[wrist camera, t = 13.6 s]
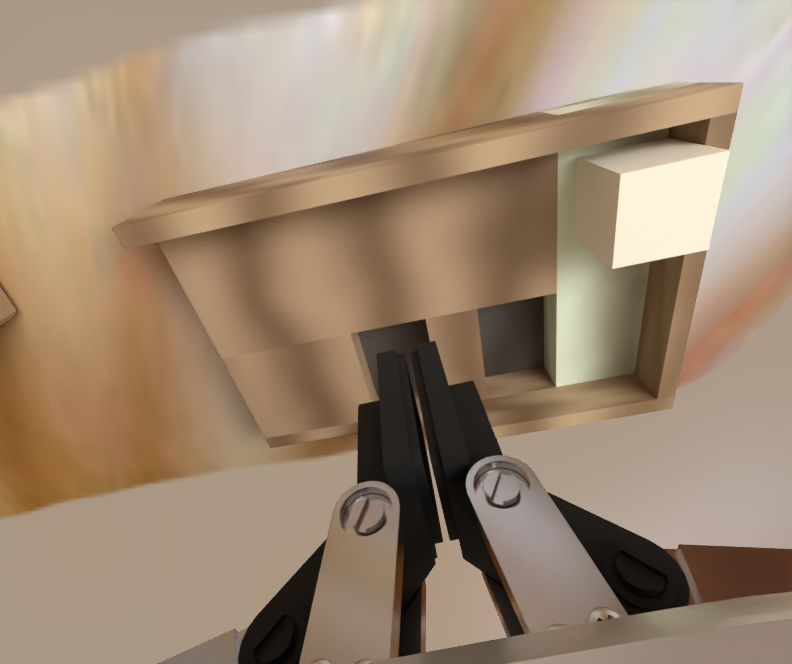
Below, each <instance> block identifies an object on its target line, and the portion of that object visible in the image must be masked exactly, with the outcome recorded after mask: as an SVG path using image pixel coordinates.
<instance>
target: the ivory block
mask: <svg viewBox="0 0 792 664" xmlns="http://www.w3.org/2000/svg"><path fill="white" fill-rule="evenodd" d="M729 153H730V150H727V149H722V148H717V147H712V146H706V145H701V144H696V143H691V142H686V141H681V140H676V139H671V138H666V137H665V138H661V139H657V140H652V141H648V142H643V143H639V144H634V145H630V146H625V147H621V148H616V149H612V150H607V151H603V152H598V153H594V154H589V155H585V156H581V157H577V177H576V209H575V239H576V240H577V241H578V242H580V243H581V244H582V245H583V246H585V247H586V248H587V249H588V250H589V251H591V252H592V253H593V254H594V255H596V256H597V257H598V258H599V259H601V260H602V261H603V262H604V263H606V264H607V265H608V266H609V267H610V268H612V269H615V268H620V267H625V266H630V265H635V264H640V263H645V262H650V261H655V260H660V259H665V258H670V257H675V256H680V255H685V254H690V253H695V252H700V251H705V250H708V248H709V244H710V239H711V235H712V230H713V226H714V221H715V217H716V212H717V207H718V203H719V198H720V194H721V189H722V185H723V180H724V176H725V171H726V166H727V162H728V157H729Z"/></svg>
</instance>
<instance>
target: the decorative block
mask: <svg viewBox="0 0 792 664" xmlns="http://www.w3.org/2000/svg"><path fill="white" fill-rule="evenodd" d="M16 311H17V310H16V308H15V307H14V305H13V304H12V303H11V301H10V300H9V298H8V297H7V295H6V294H5V293H4V291H3V290H2V288H1V287H0V325H2V324H3V323H5V322H7V321H8V320H10V319H11V318H13V317H14V316H15V314H16Z"/></svg>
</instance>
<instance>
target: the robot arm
mask: <svg viewBox="0 0 792 664" xmlns="http://www.w3.org/2000/svg"><path fill="white" fill-rule="evenodd" d="M410 354H411V359H412V364H413V370H414V375H415V380H416V386H417V391H418V396H419V401H420V407H421V412H422V417H423V423H424V428H425V433H426V438H427V444H428V449H429V454H430V459H431V463H432V468H433V472H434V476H435V480H436V484H437V488H438V492H439V497H440V500H441V505H442V509H443V513H444V518H445V522H446V526H447V530H448V534H449V538H450V540H456V539H459V541H460V546H461V550H462V554H463V558H464V559H465V560H466V561H468V562H469V563H471V564H472V565H474V566H475V567H477V568H478V569H480V570H481V572H482V576H483V579H484V581H485V584H486V586H487V589H488V591H489V594H490V596H491V598H492V601H493V603H494V606H495V608H496V611H497V613H498V616H499V618H500V621H501V623H502V626H503V628H504V631H505V633H506V636H507V638H502V639H497V640H491V641H485V642H480V643H474V644H469V645H464V646H458V647H452V648H447V649H442V650H436V651H431V652H426V583H425V579H426V577H427V576H428V574H429V573H430V571H431V570H432V568H433V567H434V565H435V564H436V563H435V558H437V555H436V548H435V543H440V542H443V539H442V533H441V528H440V522H439V516H438V511H437V506H436V500H435V495H434V489H433V484H432V478H431V473H430V467H429V462H428V456H427V451H426V445H425V440H424V434H423V429H422V425H421V420H420V416H419V412H418V408H417V404H416V399H415V395H414V391H413V387H412V383H411V379H410V375H409V370H408V366H407V362H406V358H405V354H404V353H400V354H397V352H396V349H395V350H390V351H385V352H381V353H377V369H378V386H379V400H378V401H373V402H368V403H364V404H359V406H358V470H357V471H358V473H357V474H358V475H357V479H358V480H357V485H355V486H353V487H351V488H350V489H348V490H347V491H346V492H345V493H344V494H343V495H342V496H341V497H340V499H339V500H338V501H337V503H336V505H335V508H334V510H333V513H332V518H331V522H330V527H329V531H328V536H327V539H326V540H325V541H324V542H323V544H322V545H321V546H320V547H319V548H318V549H317V550H316V551H315V553H314V554H313V555H312V556H311V557H310V558H309V559H308V560H307V561H306V562H305V563H304V564H303V565H302V567H301V568H300V569H299V570H298V571H297V572H296V573H295V574H294V575H293V576H292V578H291V579H290V580H289V581H288V582H287V583H286V584H285V585H284V586H283V587H282V589H281V590H280V591H279V592H278V593H277V594H276V595H275V596H274V597H273V598H272V600H271V601H270V602H269V603H268V604H267V605H266V606H265V607H264V608H263V610H262V611H261V612H260V613H259V614H258V615H257V616H256V618H255V619H254V620H253V622H252V623H251V624H250V626H249V627H248V628H247V629H245V630H242V631H240V632H237V631H236V629H233V630H231V631H228V632H226V633H224V634H222V635H220V636H218V637H215V638H213V639H211V640H209V641H206V642H205V643H202V644H200V645H198V646H195V647H193V648H191V649H189V650H187V651H184V652H182V653H180V654H178V655H176V656H173V657H171V658H169V659H167V660H165V661H163V662H160V663H158V664H792V549H777V548H753V547H730V546H706V545H682V544H679V545H678V549H662V548H661V547H659V546H658V545H656V544H655V543H653V542H651V541H649V540H647V539H645V538H643V537H641V536H639V535H636V534H635V533H632V532H631V531H628V530H626V529H624V528H622V527H620V526H618V525H616V524H614V523H612V522H609V521H607V520H605V519H603V518H601V517H599V516H597V515H595V514H593V513H590V512H588V511H586V510H584V509H582V508H580V507H578V506H576V505H574V504H571V503H569V502H567V501H565V500H563V499H561V498H559V497H557V496H555V495H553V494H550V493H548V492H547V491H546V490H545V488H544V487H543V485H542V484H541V482H540V481H539V479H538V478H537V476H536V475H535V473H534V472H533V471H532V470H531V468H530V467H529V466H528V465H527V464H525V463H524V462H522V461H520V460H519V459H516V458H513V457H510V456H503V455H502V452H501V450H500V447H499V445H498V442H497V439H496V437H495V434H494V432H493V429H492V426H491V424H490V421H489V419H488V416H487V414H486V411H485V409H484V406H483V403H482V401H481V398H480V396H479V393H478V391H477V388H476V385H475V383H474V381H473V380H472V381H468V382H463V383H458V384H453V385H448V382H447V378H446V375H445V371H444V368H443V365H442V361H441V358H440V355H439V351H438V348H437V345H436V342H435V341H431V342H427V343H422V344H418V345H417V350H414V351H410Z"/></svg>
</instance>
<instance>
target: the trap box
mask: <svg viewBox="0 0 792 664" xmlns="http://www.w3.org/2000/svg"><path fill="white" fill-rule="evenodd" d="M742 88H743V83H689V82H664V83H660V84H655V85H651V86H647V87H642V88H638V89H634V90H630V91H625V92H621V93H617V94H613V95H608V96H604V97H600V98H595V99H591V100H587V101H583V102H578V103H574V104H570V105H566V106H561V107H557V108H553V109H548V110H544V111H540V112H536V113H531V114H527V115H523V116H519V117H514V118H510V119H506V120H501V121H497V122H493V123H489V124H484V125H480V126H476V127H472V128H467V129H463V130H459V131H454V132H450V133H446V134H442V135H437V136H433V137H429V138H425V139H420V140H416V141H412V142H407V143H403V144H399V145H395V146H390V147H386V148H382V149H378V150H373V151H369V152H365V153H360V154H356V155H352V156H348V157H343V158H339V159H335V160H331V161H326V162H322V163H318V164H313V165H309V166H305V167H301V168H296V169H292V170H288V171H284V172H279V173H275V174H271V175H266V176H262V177H258V178H254V179H249V180H245V181H241V182H237V183H232V184H228V185H224V186H219V187H215V188H211V189H207V190H202V191H198V192H194V193H190V194H185V195H181V196H177V197H172V198H168V199H164V200H162V201H161V202H159V203H157V204H155V205H153V206H151V207H150V208H148V209H146V210H144V211H142V212H140V213H139V214H137V215H135V216H133V217H131V218H129V219H128V220H126V221H124V222H122V223H120V224H118V225H116V226H115V227H113V228H112V230H113V232H114V233H115V235H116V237H117V238H118V240H119V242H120V243H121V245H122V247H123V248H124V250H126V249H131V248H135V247H139V246H144V245H148V244H153V243H157V242H158V244H159V246H160V248H161V250H162V252H163V253H164V255H165V257H166V259H167V261H168V262H169V264H170V266H171V268H172V270H173V272H174V273H175V275H176V277H177V279H178V281H179V282H180V284H181V286H182V288H183V290H184V292H185V293H186V295H187V297H188V299H189V301H190V302H191V304H192V306H193V308H194V310H195V312H196V313H197V315H198V317H199V319H200V321H201V322H202V324H203V326H204V328H205V330H206V332H207V333H208V335H209V337H210V339H211V341H212V342H213V344H214V346H215V348H216V350H217V352H218V353H219V355H220V357H221V359H222V361H223V362H224V364H225V366H226V368H227V370H228V372H229V373H230V375H231V377H232V379H233V381H234V382H235V384H236V386H237V388H238V390H239V392H240V393H241V395H242V397H243V399H244V401H245V402H246V404H247V406H248V408H249V410H250V412H251V413H252V415H253V417H254V419H255V421H256V422H257V424H258V426H259V428H260V430H261V432H262V433H263V435H264V437H265V439H266V441H267V442H268V444H269V446H270V448H274V447H280V446H285V445H291V444H297V443H303V442H308V441H314V440H320V439H326V438H331V437H337V436H343V435H348V434H354V433H358V406H359V404H364V403H368V402H373V401H378V400H379V386H378V369H377V353H381V352H385V351H390V350H395V349H396V352H397V354H400V353H404V354H405V358H406V362H407V366H408V370H409V375H410V379H411V383H412V387H413V391H414V395H415V399H416V404H417V408H418V412H419V416H420V420H421V425H422V429H423V434H424V440H425V445H426V450H429V449H428V444H427V438H426V433H425V428H424V423H423V417H422V412H421V407H420V401H419V396H418V391H417V386H416V380H415V375H414V370H413V364H412V359H411V354H410V351H414V350H417V345H418V344H422V343H427V342H431V341H435V342H436V345H437V348H438V351H439V355H440V358H441V361H442V365H443V368H444V371H445V375H446V378H447V382H448V385H453V384H458V383H463V382H468V381H472V380H473V381H474V383H475V385H476V388H477V391H478V393H479V396H480V398H481V401H482V403H483V406H484V409H485V411H486V414H487V416H488V419H489V421H490V424H491V426H492V429H493V432H494V434H495V437H496V438H500V437H506V436H512V435H518V434H524V433H530V432H536V431H542V430H547V429H554V428H560V427H566V426H571V425H577V424H583V423H588V422H595V421H601V420H607V419H613V418H619V417H625V416H630V415H637V414H642V413H649V412H655V411H660V410H666V409H672V407H673V402H674V398H675V394H676V389H677V384H678V380H679V375H680V371H681V366H682V362H683V357H684V352H685V348H686V343H687V339H688V334H689V330H690V325H691V320H692V316H693V311H694V307H695V302H696V298H697V293H698V289H699V284H700V279H701V275H702V270H703V266H704V261H705V257H706V252H707V250H705V251H700V252H695V253H690V254H685V255H680V256H675V257H670V258H665V259H660V260H655V261H650V262H645V263H640V264H635V265H630V266H625V267H620V268H615V269H612V268H610V267H609V266H608V265H607V264H606V263H604V262H603V261H602V260H601V259H599V258H598V257H597V256H596V255H594V254H593V253H592V252H591V251H589V250H588V249H587V248H586V247H585V246H583V245H582V244H581V243H580V242H578V241H577V240H576V239H575V209H576V177H577V157H581V156H585V155H589V154H594V153H598V152H603V151H607V150H612V149H616V148H621V147H625V146H630V145H634V144H639V143H643V142H648V141H652V140H657V139H661V138H665V137H666V138H671V139H676V140H681V141H686V142H691V143H696V144H701V145H706V146H712V147H717V148H722V149H727V150H729V147H730V142H731V138H732V133H733V129H734V124H735V120H736V115H737V110H738V106H739V101H740V97H741V92H742Z"/></svg>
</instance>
